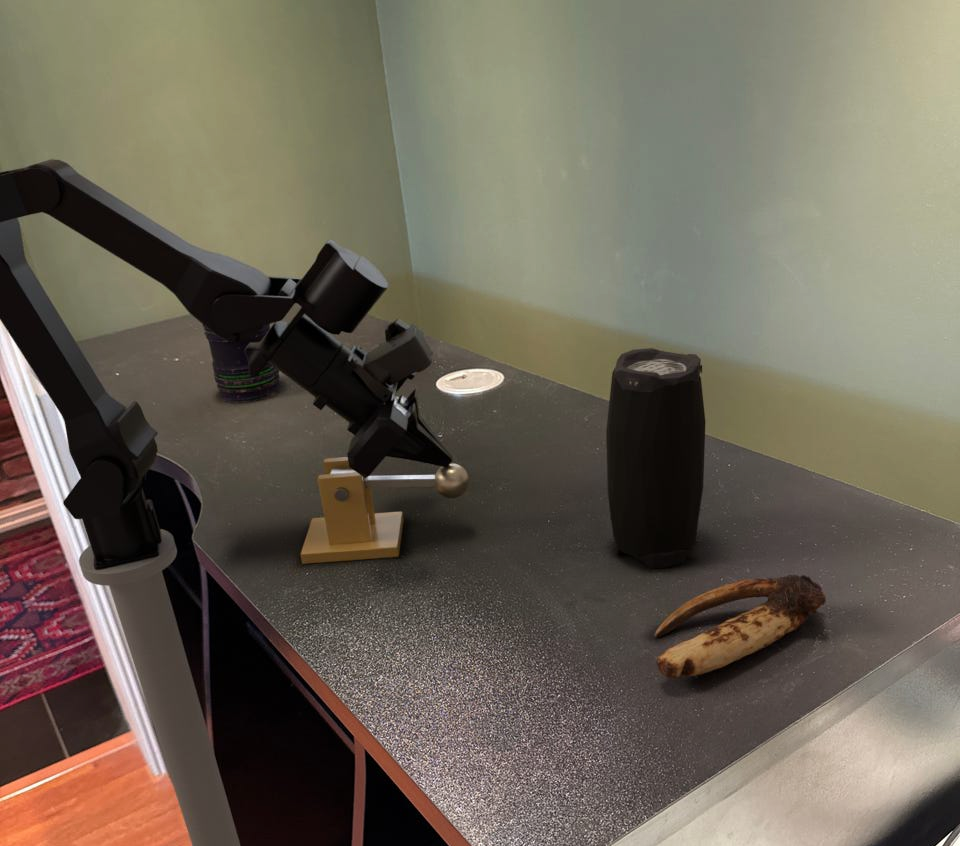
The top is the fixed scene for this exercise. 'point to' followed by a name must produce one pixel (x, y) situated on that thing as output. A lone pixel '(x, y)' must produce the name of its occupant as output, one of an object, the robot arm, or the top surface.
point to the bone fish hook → (739, 623)
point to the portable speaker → (655, 454)
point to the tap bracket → (349, 521)
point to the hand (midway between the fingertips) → (449, 462)
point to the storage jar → (240, 370)
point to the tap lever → (421, 480)
